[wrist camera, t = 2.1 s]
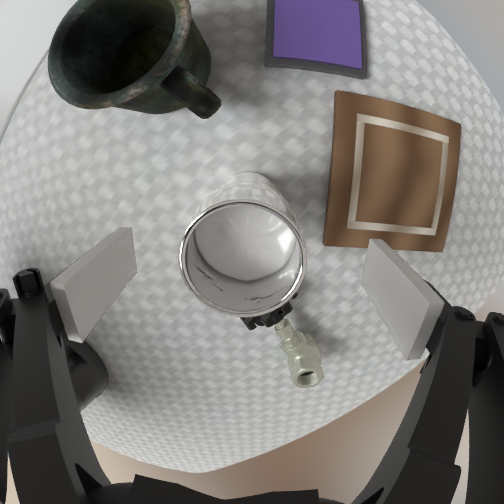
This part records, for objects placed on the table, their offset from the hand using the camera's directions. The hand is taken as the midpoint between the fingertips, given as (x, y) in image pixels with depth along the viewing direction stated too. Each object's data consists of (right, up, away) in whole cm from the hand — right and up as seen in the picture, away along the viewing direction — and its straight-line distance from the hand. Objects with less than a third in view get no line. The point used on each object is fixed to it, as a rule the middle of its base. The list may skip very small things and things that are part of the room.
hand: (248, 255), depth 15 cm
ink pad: (+7, +23, +6) cm, 24 cm away
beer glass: (0, +5, +13) cm, 14 cm away
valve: (+5, -8, +19) cm, 21 cm away
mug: (-8, +18, +8) cm, 21 cm away
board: (+16, +8, +12) cm, 21 cm away
